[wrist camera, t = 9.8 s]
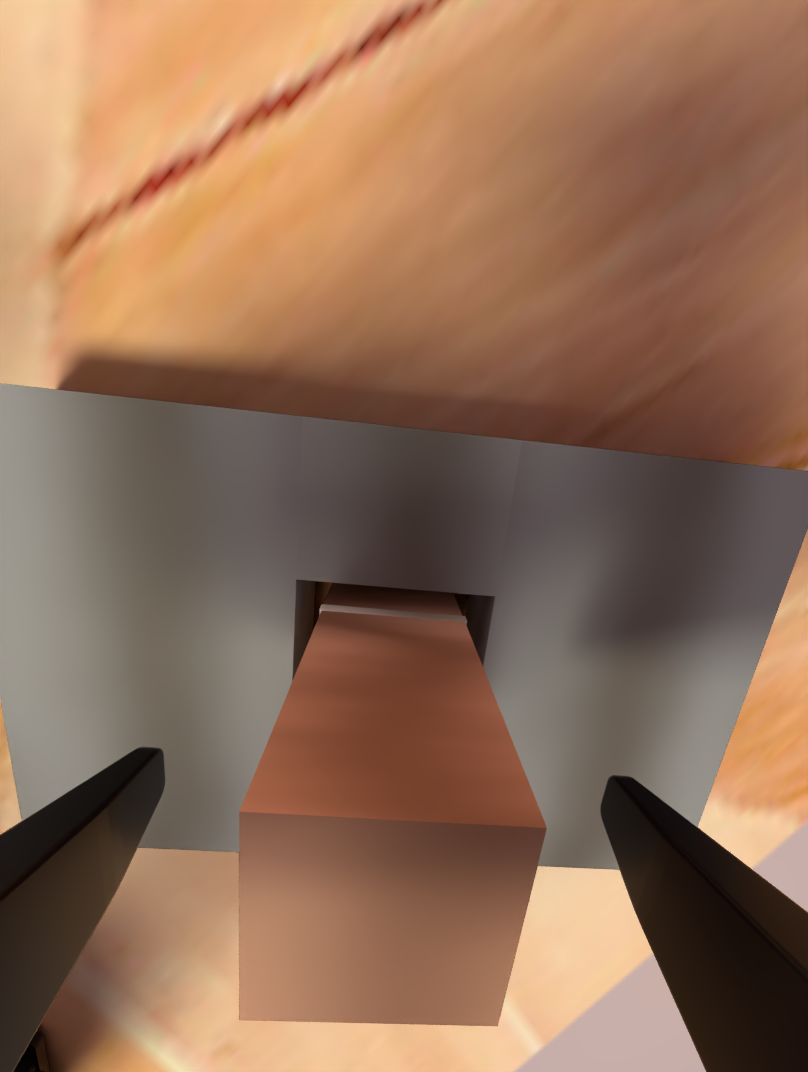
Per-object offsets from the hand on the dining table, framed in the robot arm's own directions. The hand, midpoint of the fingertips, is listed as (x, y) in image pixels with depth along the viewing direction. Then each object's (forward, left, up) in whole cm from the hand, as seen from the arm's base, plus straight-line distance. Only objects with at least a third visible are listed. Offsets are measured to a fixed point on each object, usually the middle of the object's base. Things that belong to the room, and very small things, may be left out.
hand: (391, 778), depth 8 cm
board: (0, 0, -7) cm, 7 cm away
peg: (0, 0, -7) cm, 7 cm away
